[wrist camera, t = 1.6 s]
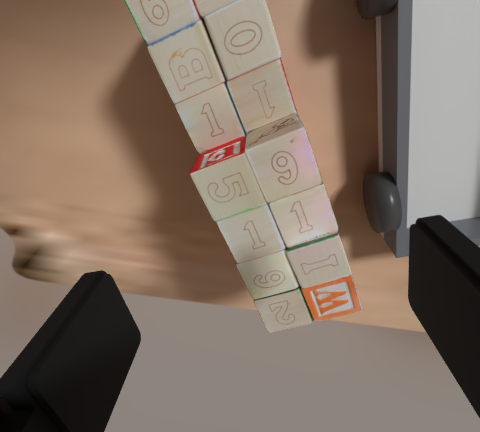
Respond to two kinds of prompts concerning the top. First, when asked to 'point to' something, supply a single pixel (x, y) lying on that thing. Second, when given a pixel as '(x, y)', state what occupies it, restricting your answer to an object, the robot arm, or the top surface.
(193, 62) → the stack of blocks
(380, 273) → the top surface
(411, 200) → the chassis
